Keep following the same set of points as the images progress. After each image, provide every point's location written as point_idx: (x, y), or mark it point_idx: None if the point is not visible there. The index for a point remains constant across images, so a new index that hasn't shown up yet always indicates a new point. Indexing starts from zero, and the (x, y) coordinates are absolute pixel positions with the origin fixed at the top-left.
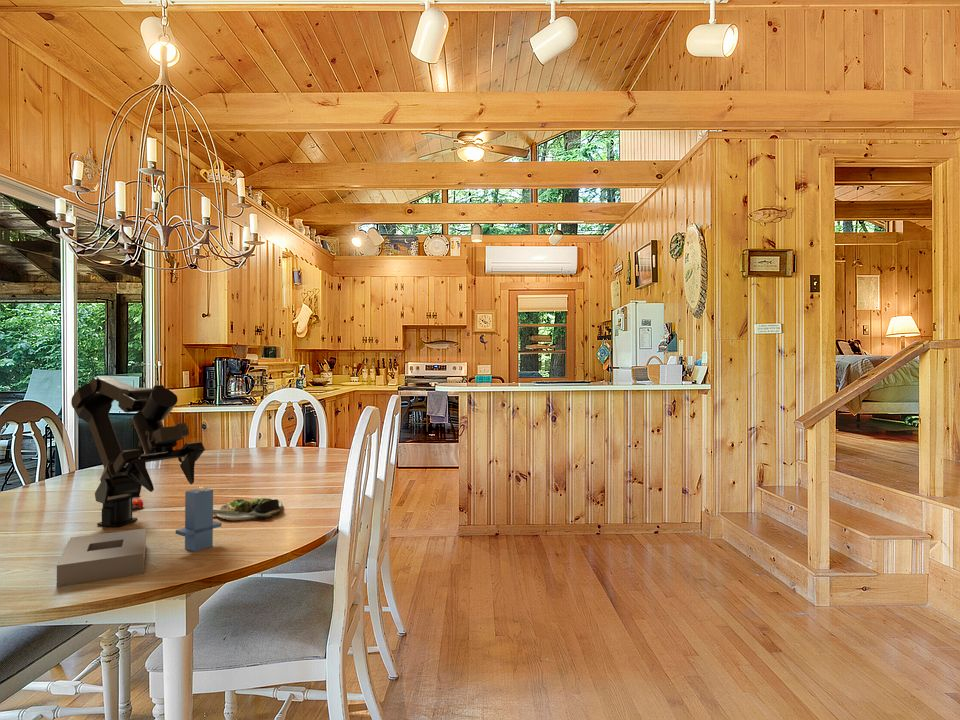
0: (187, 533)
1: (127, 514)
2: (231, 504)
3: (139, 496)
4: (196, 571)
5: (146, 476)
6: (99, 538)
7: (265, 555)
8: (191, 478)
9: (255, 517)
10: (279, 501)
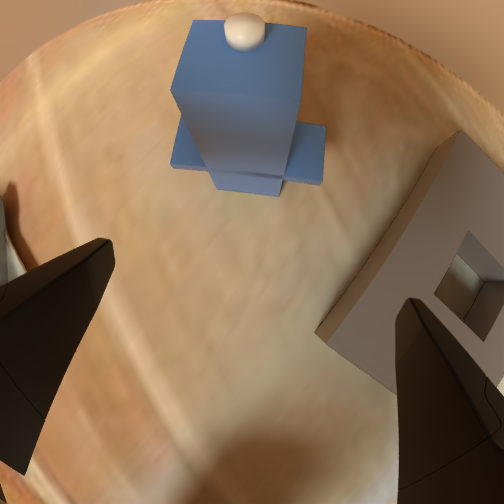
0: (316, 126)
1: None
2: None
3: None
4: (367, 57)
5: (474, 374)
6: None
7: (225, 10)
8: (94, 253)
9: (7, 232)
10: None
